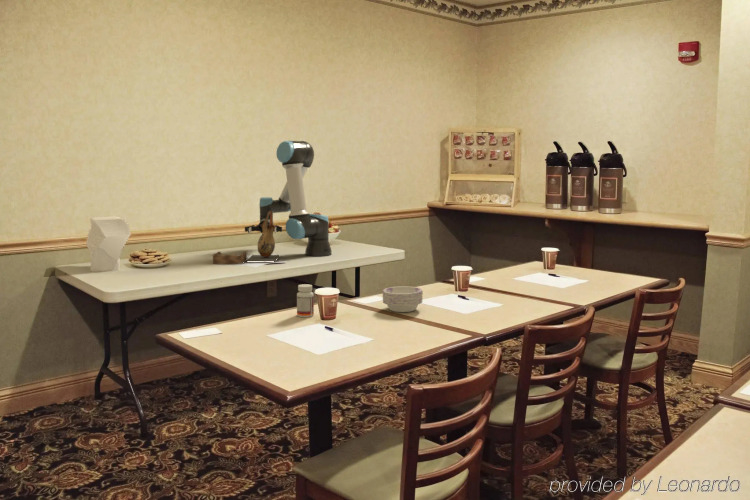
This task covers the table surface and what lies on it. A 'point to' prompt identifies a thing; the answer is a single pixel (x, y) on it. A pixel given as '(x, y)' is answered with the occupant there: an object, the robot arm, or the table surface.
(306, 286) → the pill bottle
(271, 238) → the ceramic vessel
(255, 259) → the mat
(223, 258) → the holder
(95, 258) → the white faceted vase
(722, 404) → the table surface
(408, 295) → the paper bowls
